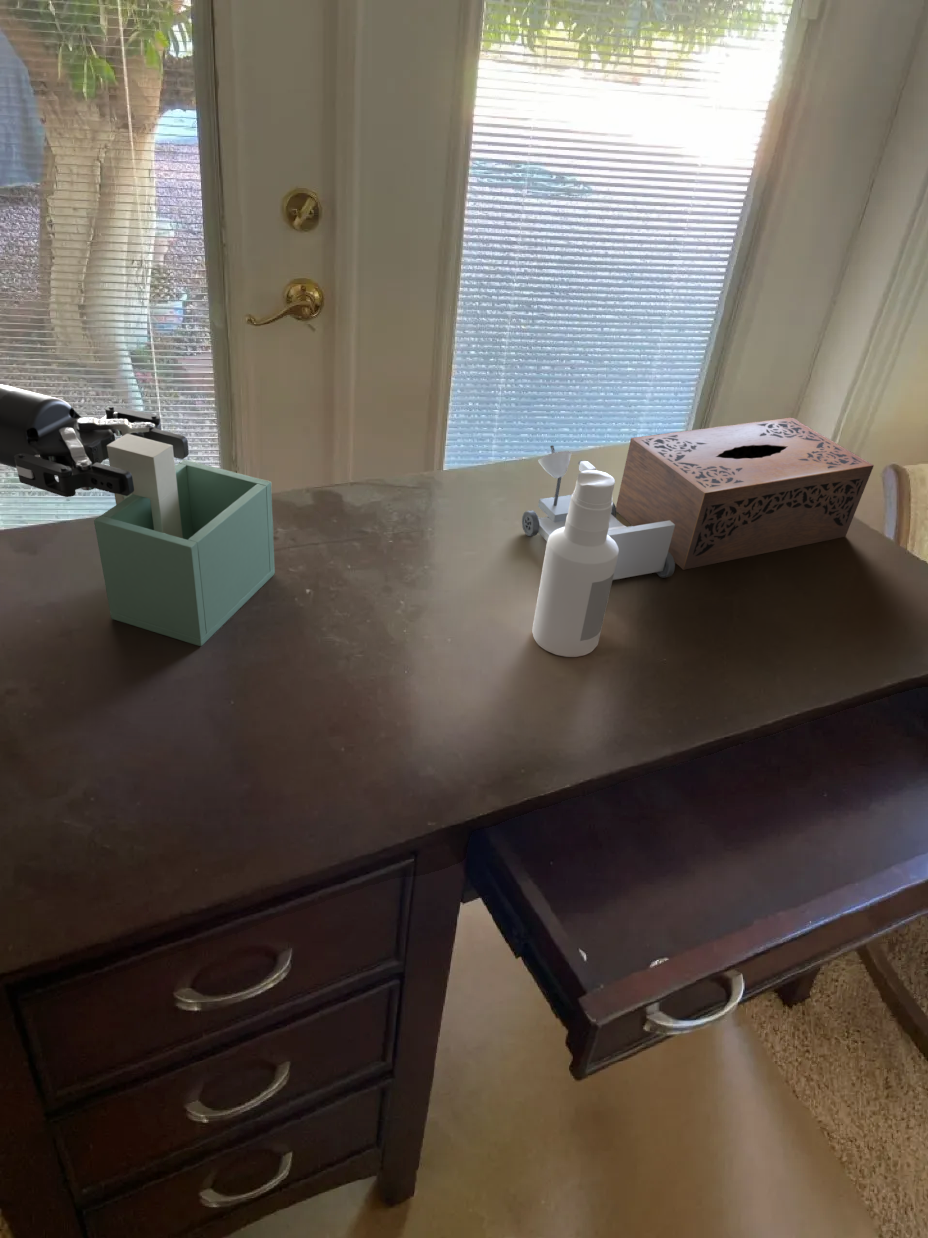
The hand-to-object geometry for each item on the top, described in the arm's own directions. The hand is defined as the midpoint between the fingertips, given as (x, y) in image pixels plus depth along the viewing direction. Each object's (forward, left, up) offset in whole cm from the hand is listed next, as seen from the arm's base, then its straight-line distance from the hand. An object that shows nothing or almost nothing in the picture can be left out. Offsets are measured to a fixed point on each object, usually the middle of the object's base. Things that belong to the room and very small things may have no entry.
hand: (159, 465), depth 83 cm
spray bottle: (+31, -26, -14) cm, 43 cm away
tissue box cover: (+66, -18, -14) cm, 69 cm away
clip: (-1, +2, -9) cm, 10 cm away
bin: (+2, -2, -14) cm, 14 cm away
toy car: (+45, -14, -14) cm, 49 cm away
